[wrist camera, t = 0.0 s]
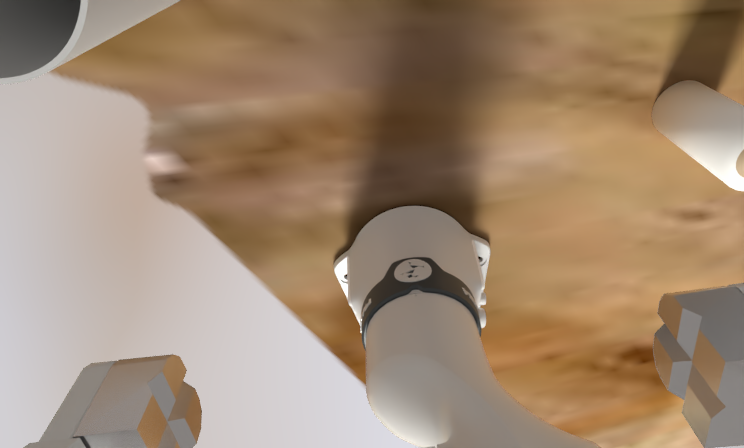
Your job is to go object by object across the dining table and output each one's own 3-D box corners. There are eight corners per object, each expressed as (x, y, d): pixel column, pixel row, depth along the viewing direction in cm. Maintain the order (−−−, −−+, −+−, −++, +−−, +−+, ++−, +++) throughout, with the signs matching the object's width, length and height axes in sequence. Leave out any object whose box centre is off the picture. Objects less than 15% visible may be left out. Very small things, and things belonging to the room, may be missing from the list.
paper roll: (705, 131, 59) (787, 186, 47) (648, 139, 59) (715, 195, 48) (715, 76, 56) (804, 120, 44) (654, 85, 56) (728, 131, 45)
